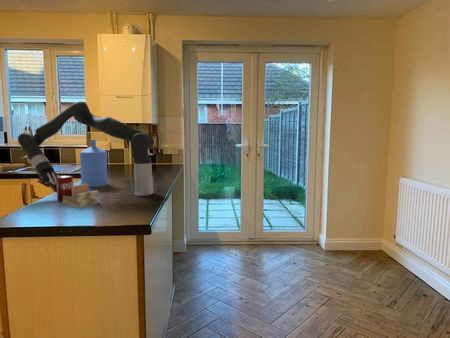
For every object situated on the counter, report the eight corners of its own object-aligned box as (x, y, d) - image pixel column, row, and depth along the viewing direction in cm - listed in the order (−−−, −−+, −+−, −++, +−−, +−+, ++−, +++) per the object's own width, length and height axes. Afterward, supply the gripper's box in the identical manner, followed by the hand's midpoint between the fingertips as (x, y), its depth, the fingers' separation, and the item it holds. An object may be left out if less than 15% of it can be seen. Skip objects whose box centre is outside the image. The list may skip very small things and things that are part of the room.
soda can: (77, 199, 164) (76, 176, 162) (66, 202, 157) (65, 178, 155) (64, 198, 166) (63, 175, 164) (53, 201, 159) (52, 177, 157)
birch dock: (83, 200, 163) (82, 188, 163) (98, 202, 158) (98, 190, 157) (63, 204, 154) (62, 191, 153) (78, 207, 148) (78, 194, 148)
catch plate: (87, 201, 160) (87, 183, 159) (89, 201, 159) (88, 183, 158) (72, 204, 152) (71, 186, 151) (73, 204, 152) (73, 186, 151)
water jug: (99, 188, 195) (97, 140, 191) (75, 186, 198) (73, 140, 194) (113, 183, 210) (111, 139, 206) (90, 182, 213) (89, 139, 209)
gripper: (51, 168, 175) (67, 193, 170) (26, 171, 163) (42, 198, 159) (57, 159, 171) (73, 184, 167) (31, 161, 160) (48, 189, 156)
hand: (58, 191), depth 163 cm, fingers closed
